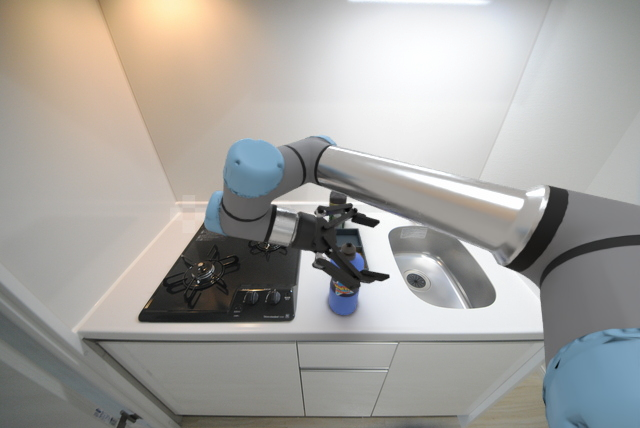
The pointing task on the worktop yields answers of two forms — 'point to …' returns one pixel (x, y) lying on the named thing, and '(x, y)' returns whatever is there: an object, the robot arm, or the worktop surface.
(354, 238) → the dark grey shallow tray
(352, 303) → the water bottle
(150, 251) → the worktop surface
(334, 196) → the coffee jar
